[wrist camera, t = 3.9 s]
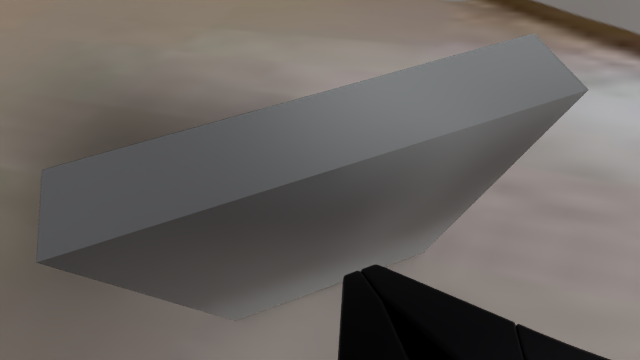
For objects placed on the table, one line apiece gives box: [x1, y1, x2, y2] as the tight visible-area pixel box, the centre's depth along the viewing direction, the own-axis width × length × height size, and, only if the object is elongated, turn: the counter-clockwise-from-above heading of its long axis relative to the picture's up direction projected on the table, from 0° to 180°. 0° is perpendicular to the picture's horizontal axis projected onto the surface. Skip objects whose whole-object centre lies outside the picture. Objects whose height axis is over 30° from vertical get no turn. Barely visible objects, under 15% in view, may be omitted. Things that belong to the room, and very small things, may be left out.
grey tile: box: [36, 33, 588, 321], centre depth 11 cm, size 2×10×12 cm, turn 109°
